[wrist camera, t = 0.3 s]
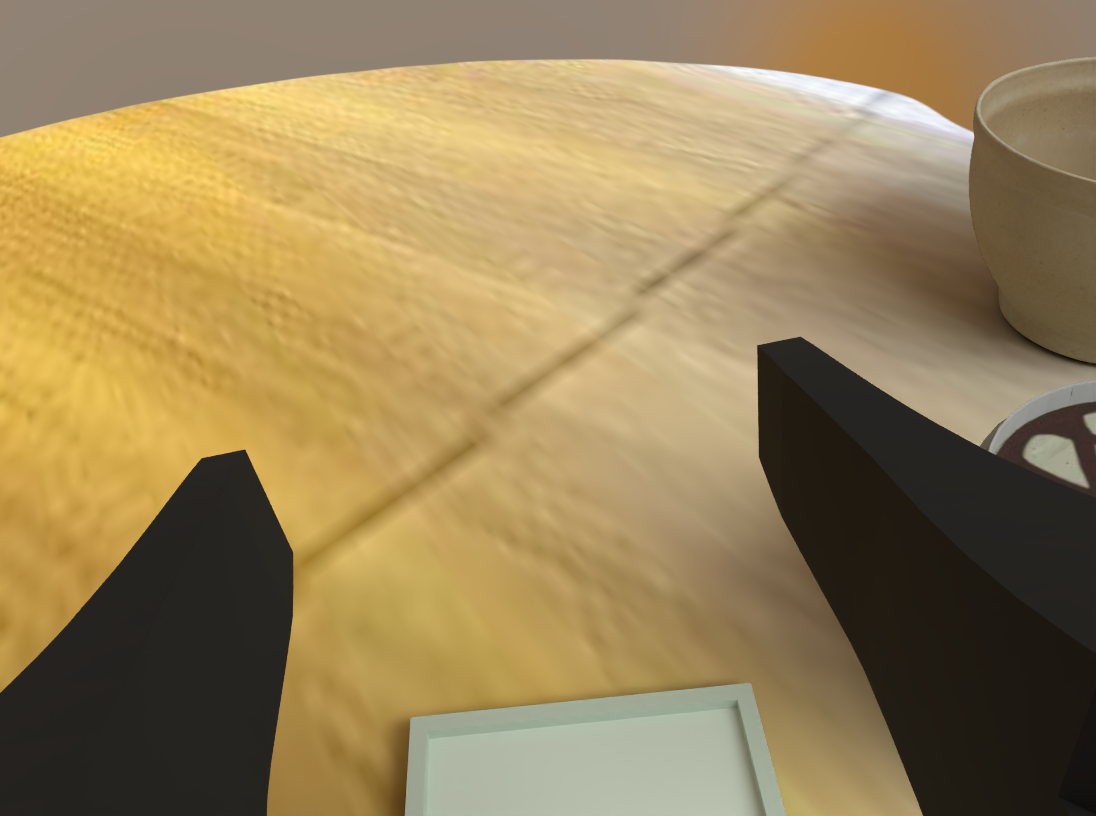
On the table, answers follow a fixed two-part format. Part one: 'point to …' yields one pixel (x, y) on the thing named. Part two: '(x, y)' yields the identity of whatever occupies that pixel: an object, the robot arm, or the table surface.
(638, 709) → the coaster
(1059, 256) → the planter bowl
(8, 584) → the table surface
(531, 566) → the table surface
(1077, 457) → the food container
